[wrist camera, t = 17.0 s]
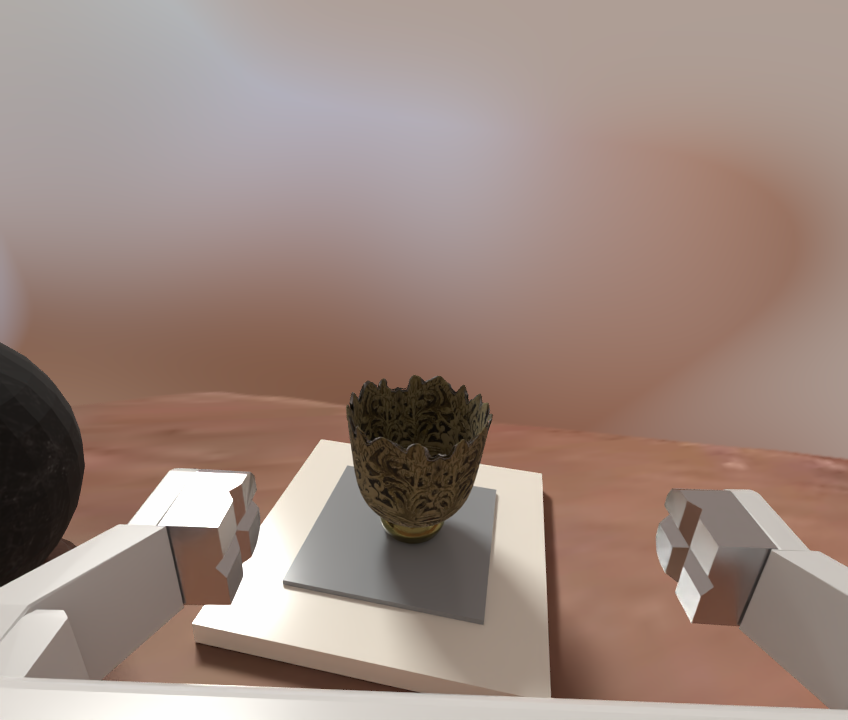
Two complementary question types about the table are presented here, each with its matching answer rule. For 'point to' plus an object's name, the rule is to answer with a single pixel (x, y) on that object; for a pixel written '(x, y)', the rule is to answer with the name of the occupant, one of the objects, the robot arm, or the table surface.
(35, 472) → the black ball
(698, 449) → the table surface
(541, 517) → the tile plinth
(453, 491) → the cup
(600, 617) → the table surface
